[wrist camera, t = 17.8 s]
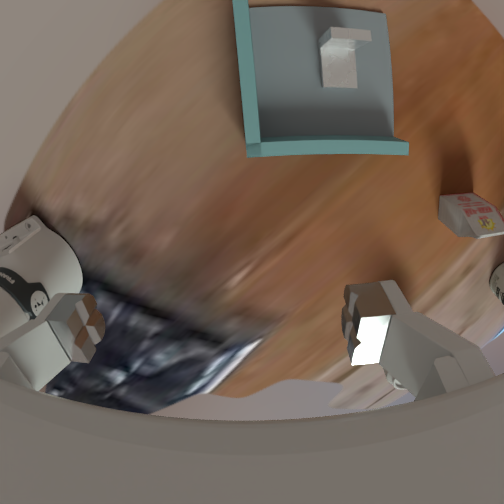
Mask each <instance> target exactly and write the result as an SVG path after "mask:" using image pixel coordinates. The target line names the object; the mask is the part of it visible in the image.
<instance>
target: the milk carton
mask: <svg viewBox="0 0 504 504" xmlns="http://www.w3.org/2000/svg"><path fill="white" fill-rule="evenodd" d="M438 219H439V220H440V221H441V222H442V223H443V224H445V225H446V226H447V227H448V228H449V229H450V230H452V231H453V232H454V233H455V234H456V235H457V236H458V237H474V238H476V239H478V238H484V237H490V236H496V235H501V234H504V219H503V218H502V216H501V214H500V213H499V211H498V209H497V208H496V207H495V206H494V205H492V204H491V203H489V202H488V201H486V200H485V199H483V198H481V197H480V196H478V195H477V194H475V193H461V194H448V195H440V201H439V215H438Z"/></svg>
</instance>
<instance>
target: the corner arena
mask: <svg viewBox="0 0 504 504" xmlns="http://www.w3.org/2000/svg"><path fill="white" fill-rule="evenodd" d="M233 11H234V21H235V32H236V42H237V53H238V63H239V74H240V85H241V95H242V106H243V117H244V128H245V139H246V150H247V158H249V157H263V156H280V155H303V154H390V155H408V153H409V142H406V141H404V140H401V139H398V138H395V137H394V113H393V84H392V68H391V55H390V45H389V36H388V28H387V20H386V14H383V13H377V12H370V11H363V10H354V9H344V8H332V7H312V6H275V7H256V8H249V5H248V0H233ZM330 27H340V28H352V29H362V30H370V31H371V39H372V41H371V42H369V43H367V44H365V45H363V46H361V47H359V48H357V49H355V59H356V72H357V87H358V88H355V89H353V88H323V87H322V86H321V72H320V60H319V49H318V39H319V38H320V37H321V36H322V35H323V34H324V33H325V32H326V31H327V30H328V29H329V28H330Z"/></svg>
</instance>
